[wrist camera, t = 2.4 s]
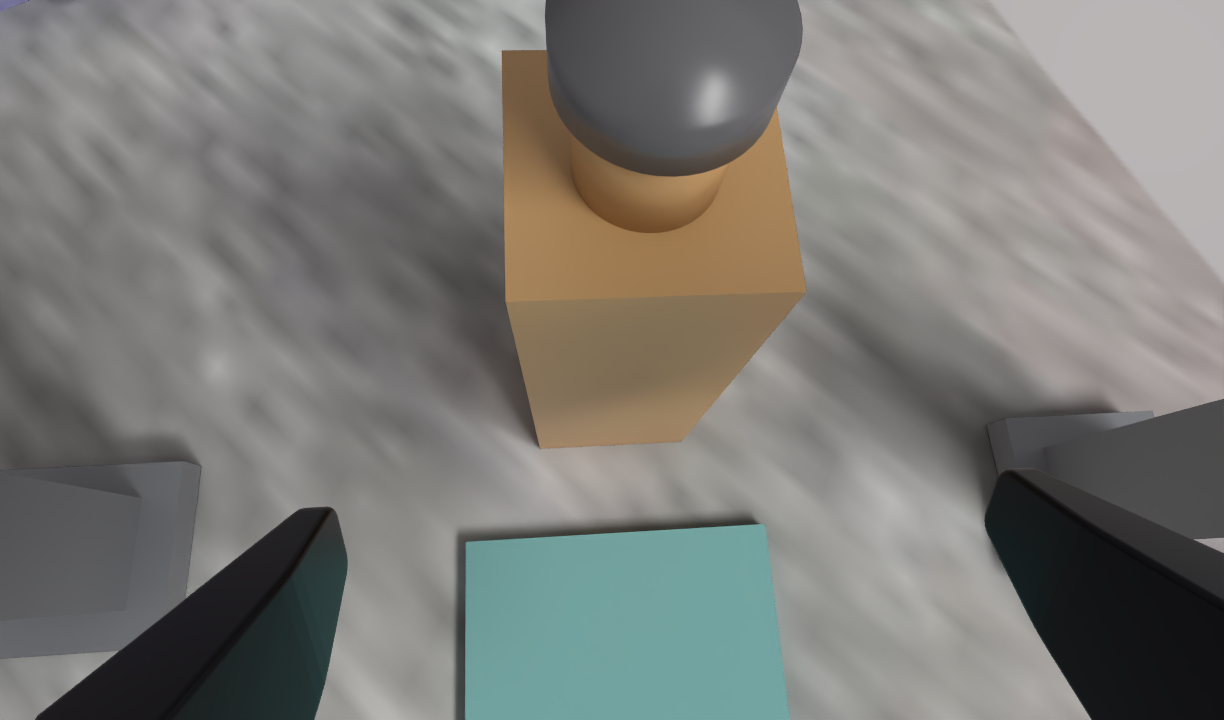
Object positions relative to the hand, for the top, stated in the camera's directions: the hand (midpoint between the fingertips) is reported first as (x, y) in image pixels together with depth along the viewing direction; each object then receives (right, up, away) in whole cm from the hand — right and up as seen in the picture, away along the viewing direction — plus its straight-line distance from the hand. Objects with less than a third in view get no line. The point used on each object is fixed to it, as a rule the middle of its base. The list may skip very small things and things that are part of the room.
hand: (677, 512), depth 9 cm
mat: (0, -8, +10) cm, 13 cm away
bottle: (-1, +1, +13) cm, 13 cm away
